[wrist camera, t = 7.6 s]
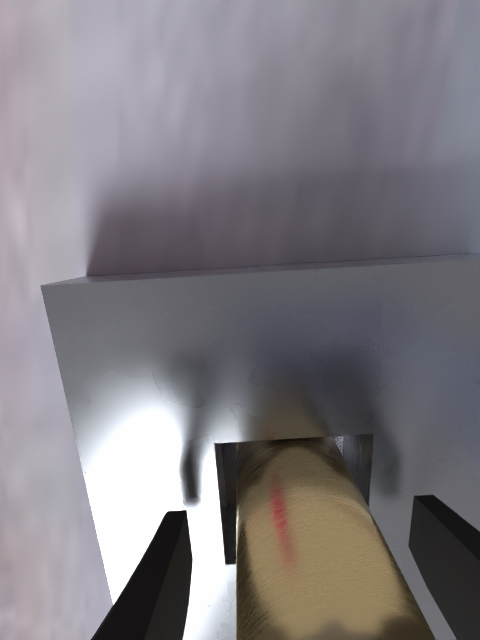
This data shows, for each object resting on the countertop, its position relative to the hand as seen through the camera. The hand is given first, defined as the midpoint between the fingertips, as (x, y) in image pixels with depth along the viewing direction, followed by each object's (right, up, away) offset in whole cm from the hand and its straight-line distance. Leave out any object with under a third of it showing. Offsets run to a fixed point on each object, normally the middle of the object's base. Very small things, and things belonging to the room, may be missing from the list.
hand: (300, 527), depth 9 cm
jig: (0, +1, +3) cm, 3 cm away
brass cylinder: (0, +1, +3) cm, 3 cm away
